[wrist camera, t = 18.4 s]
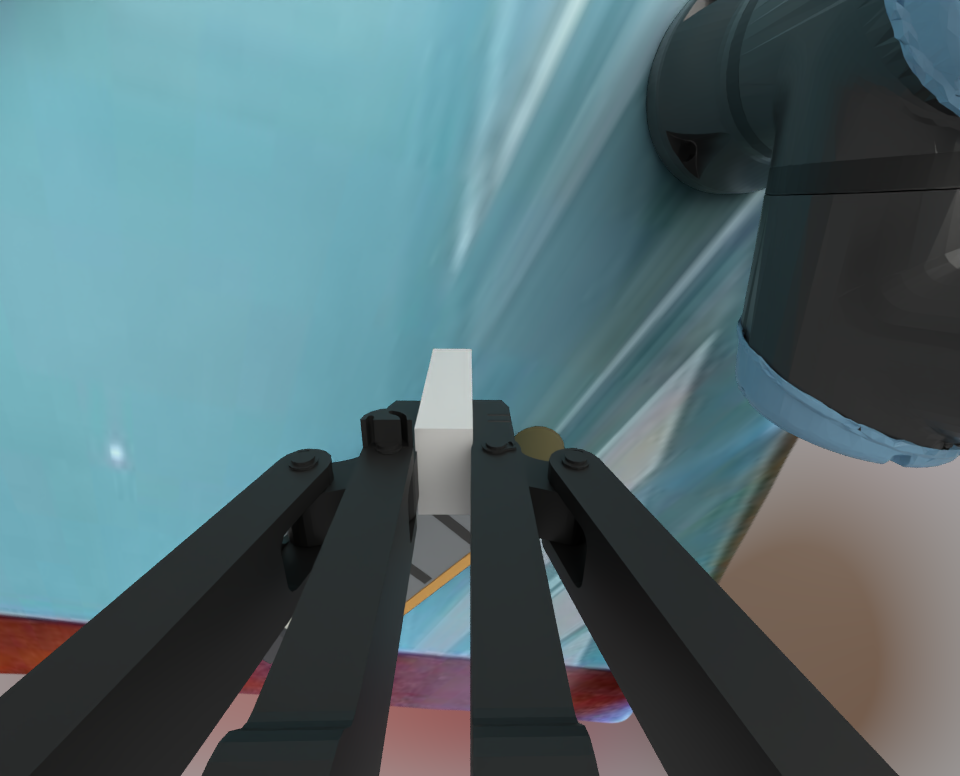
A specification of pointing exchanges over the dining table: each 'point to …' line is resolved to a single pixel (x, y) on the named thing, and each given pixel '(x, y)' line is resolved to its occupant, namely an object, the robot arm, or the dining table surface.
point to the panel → (437, 554)
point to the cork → (539, 442)
